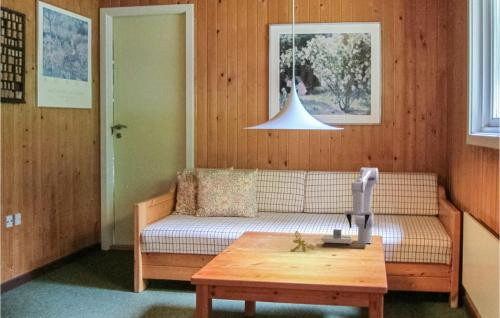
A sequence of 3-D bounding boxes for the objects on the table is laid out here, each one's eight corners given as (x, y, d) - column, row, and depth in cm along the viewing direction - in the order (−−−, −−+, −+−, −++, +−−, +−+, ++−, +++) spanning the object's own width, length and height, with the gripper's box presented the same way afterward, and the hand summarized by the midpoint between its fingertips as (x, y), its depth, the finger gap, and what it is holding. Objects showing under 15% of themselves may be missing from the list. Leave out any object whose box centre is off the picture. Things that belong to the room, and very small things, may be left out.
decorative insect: (302, 260, 288) (315, 246, 286) (301, 261, 285) (314, 248, 283) (284, 243, 290) (296, 230, 288) (283, 244, 286) (296, 231, 285)
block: (333, 238, 304) (334, 229, 304) (341, 238, 303) (341, 229, 303) (333, 239, 300) (333, 230, 300) (340, 239, 299) (340, 230, 299)
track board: (324, 243, 310) (324, 240, 310) (365, 245, 304) (365, 243, 304) (321, 247, 298) (321, 244, 298) (364, 249, 293) (364, 247, 293)
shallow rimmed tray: (323, 240, 309) (323, 234, 309) (352, 242, 305) (352, 236, 305) (321, 244, 299) (321, 237, 299) (351, 245, 295) (351, 239, 295)
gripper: (344, 203, 296) (343, 228, 296) (371, 204, 292) (371, 230, 292) (345, 202, 302) (344, 226, 303) (371, 203, 299) (371, 228, 299)
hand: (357, 228), depth 298 cm, fingers open, 7 cm apart
